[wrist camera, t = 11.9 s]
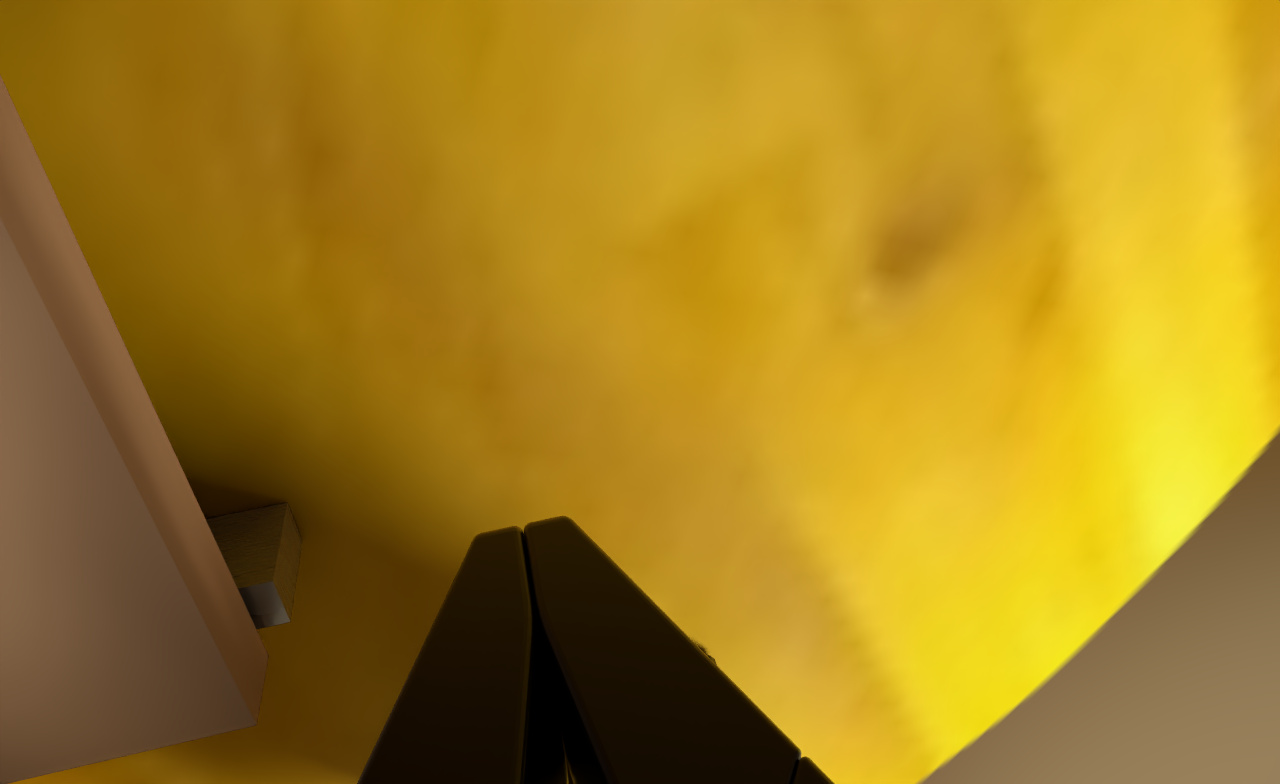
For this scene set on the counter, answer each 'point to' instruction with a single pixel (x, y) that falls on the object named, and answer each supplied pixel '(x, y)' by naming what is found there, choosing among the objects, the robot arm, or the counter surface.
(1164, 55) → the counter surface
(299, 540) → the track
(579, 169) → the counter surface
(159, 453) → the board
